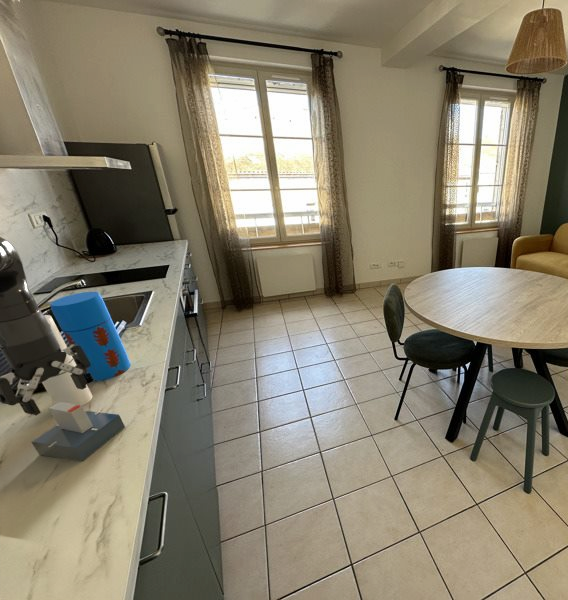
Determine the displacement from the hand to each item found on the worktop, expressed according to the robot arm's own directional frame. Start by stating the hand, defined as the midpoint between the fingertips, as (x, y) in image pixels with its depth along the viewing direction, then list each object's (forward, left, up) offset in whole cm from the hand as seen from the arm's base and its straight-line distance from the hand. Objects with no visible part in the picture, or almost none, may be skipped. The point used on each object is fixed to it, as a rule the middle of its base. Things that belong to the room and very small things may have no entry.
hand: (59, 400), depth 72 cm
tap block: (0, 0, -12) cm, 12 cm away
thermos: (-22, +25, -12) cm, 36 cm away
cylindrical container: (-17, +11, -12) cm, 24 cm away
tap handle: (0, 0, -8) cm, 8 cm away
